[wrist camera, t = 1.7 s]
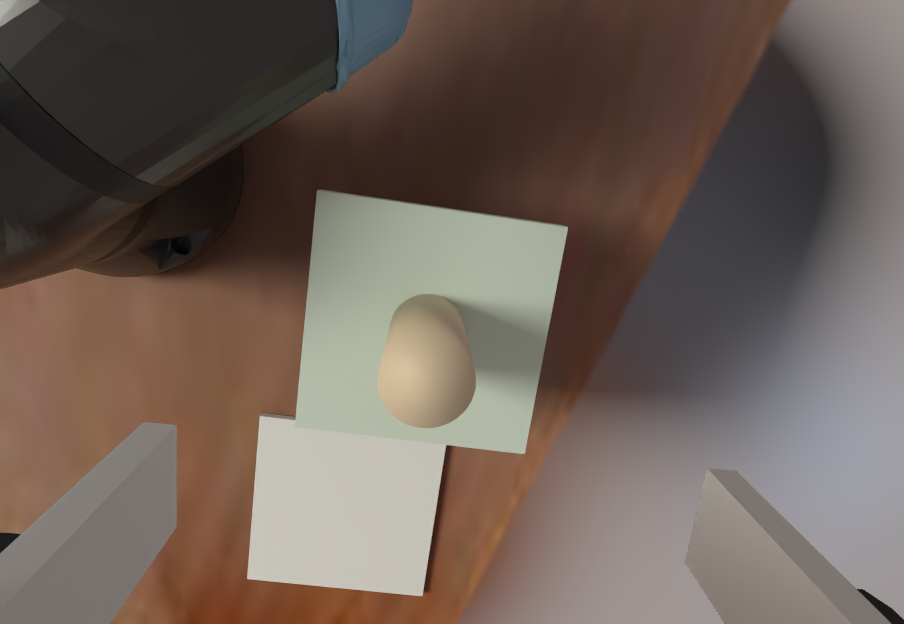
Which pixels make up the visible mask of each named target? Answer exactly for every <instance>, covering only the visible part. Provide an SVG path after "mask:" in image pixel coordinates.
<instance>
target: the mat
mask: <svg viewBox="0 0 904 624" xmlns="http://www.w3.org/2000/svg"><path fill="white" fill-rule="evenodd" d="M295 420H296V417H294V416H285V415H277V414H269V413H262V414H261V415H260V421H259V434H258V447H257V460H256V473H255V486H254V499H253V512H252V524H251V537H250V550H249V563H248V576H247V579H253V580H263V581H273V582H283V583H293V584H304V585H314V586H324V587H334V588H344V589H354V590H365V591H375V592H385V593H395V594H405V595H415V596H423V589H424V583H425V577H426V570H427V564H428V557H429V551H430V545H431V538H432V532H433V526H434V519H435V513H436V506H437V500H438V494H439V487H440V481H441V475H442V468H443V462H444V455H445V449H446V445H443V444H435V443H426V442H418V441H410V440H401V439H393V438H384V437H376V436H367V435H359V434H350V433H342V432H334V431H325V430H317V429H308V428H300V427H295Z"/></svg>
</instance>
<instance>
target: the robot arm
mask: <svg viewBox="0 0 904 624" xmlns="http://www.w3.org/2000/svg"><path fill="white" fill-rule="evenodd" d="M412 4H413V0H0V289H3V288H7V287H10V286H14V285H17V284H21V283H24V282H28V281H32V280H35V279H39V278H42V277H46V276H49V275H53V274H56V273H60V272H63V271H67V270H70V269H74V268H77V269H81V270H85V271H89V272H93V273H97V274H101V275H107V276H115V277H138V276H146V275H152V274H156V273H160V272H163V271H166V270H169V269H172V268H174V267H177V266H180V265H182V264H184V263H187V262H189V261H191V260H193V259H194V258H196V257H198V256H199V255H201V254H202V253H203V252H205V251H206V250H207V249H208V248H210V247H211V246H212V245H213V244H214V243H215V242H216V241H217V240H218V238H219V237H220V236H221V235H222V234H223V232H224V231H225V229H226V228H227V226H228V225H229V223H230V221H231V219H232V217H233V215H234V213H235V211H236V208H237V205H238V202H239V198H240V195H241V189H242V182H243V159H242V151H241V146H240V145H241V144H243V143H244V142H246V141H247V140H249V139H251V138H252V137H254V136H255V135H257V134H258V133H260V132H262V131H263V130H265V129H266V128H268V127H270V126H271V125H273V124H274V123H276V122H277V121H279V120H281V119H282V118H284V117H285V116H287V115H288V114H290V113H292V112H293V111H295V110H296V109H298V108H300V107H301V106H303V105H304V104H306V103H307V102H309V101H311V100H312V99H314V98H315V97H317V96H319V95H320V94H322V93H323V92H325V91H326V90H327V91H328V92H329V93H335V92H337V91H339V90H340V89H341V88H342V87H343V86H344V84H345V83H346V82H347V80H348V78H349V77H350V76H351V75H353V74H354V73H355V72H357V71H358V70H360V69H361V68H363V67H364V66H366V65H367V64H368V63H370V62H371V61H373V60H374V59H376V58H377V57H379V56H380V55H381V54H383V53H384V52H386V51H387V50H389V49H390V48H391V47H392V46H394V45H395V44H396V43H397V41H398V40H399V39H400V38H401V36H402V35H403V33H404V31H405V28H406V25H407V22H408V19H409V17H410V14H411V10H412ZM176 527H177V425H171V424H158V423H146V422H143V423H142V424H141V425H140V426H139V427H138V428H137V429H136V430H135V431H133V432H132V433H131V434H130V435H129V436H128V437H127V438H126V439H125V440H124V441H123V442H121V443H120V444H119V445H118V446H117V447H116V448H115V449H114V450H113V451H112V452H110V453H109V454H108V455H107V456H106V457H105V458H104V459H103V460H102V461H101V462H100V463H98V464H97V465H96V466H95V467H94V468H93V469H92V470H91V471H90V472H89V473H88V474H86V475H85V476H84V477H83V478H82V479H81V480H80V481H79V482H78V483H77V484H76V485H74V486H73V487H72V488H71V489H70V490H69V491H68V492H67V493H66V494H65V495H63V496H62V497H61V498H60V499H59V500H58V501H57V502H56V503H55V504H54V505H53V506H51V507H50V508H49V509H48V510H47V511H46V512H45V513H44V514H43V515H42V516H41V517H39V518H38V519H37V520H36V521H35V522H34V523H33V524H32V525H31V526H30V527H29V528H27V529H26V530H25V531H24V532H23V533H22V534H13V533H0V624H110V623H111V622H112V620H113V619H114V617H115V616H116V614H117V613H118V611H119V610H120V608H121V607H122V606H123V604H124V603H125V601H126V600H127V598H128V597H129V595H130V594H131V592H132V591H133V589H134V588H135V587H136V585H137V584H138V582H139V581H140V579H141V578H142V576H143V575H144V573H145V572H146V571H147V569H148V568H149V566H150V565H151V563H152V562H153V560H154V559H155V557H156V556H157V555H158V553H159V552H160V550H161V549H162V547H163V546H164V544H165V543H166V541H167V540H168V538H169V537H170V536H171V534H172V533H173V531H174V530H175V528H176ZM685 563H686V565H687V566H688V568H689V569H690V571H691V573H692V574H693V576H694V577H695V579H696V580H697V582H698V583H699V585H700V586H701V588H702V589H703V591H704V592H705V594H706V595H707V597H708V599H709V600H710V602H711V603H712V604H713V606H714V608H715V609H716V611H717V612H718V614H719V615H720V617H721V618H722V620H723V621H724V623H725V624H904V620H903V619H902V618H901V617H900V616H899V615H898V614H897V613H896V612H895V611H894V610H893V609H892V608H890V607H889V606H887V605H886V604H884V603H883V602H881V601H880V600H878V599H877V598H875V597H874V596H872V595H871V594H869V593H868V592H866V591H865V590H863V589H856V588H855V587H854V586H853V585H852V584H851V583H850V582H849V581H848V580H847V579H846V578H845V577H844V576H843V575H841V573H840V572H838V571H837V570H836V569H835V568H834V567H833V566H832V565H831V564H830V563H829V562H828V561H827V560H826V559H825V558H824V557H823V556H822V555H821V554H820V553H819V552H818V551H817V550H816V549H815V548H814V547H813V546H812V545H811V544H810V543H809V542H808V541H807V540H806V539H805V538H804V537H803V536H802V535H801V534H800V533H799V532H798V531H797V530H796V529H795V528H794V527H793V526H792V525H791V524H790V523H789V522H788V521H787V520H785V518H784V517H783V516H782V515H780V514H779V513H778V512H777V511H776V510H775V509H774V508H773V507H772V506H771V505H770V504H769V503H768V502H767V501H766V500H765V499H764V498H763V497H762V496H761V495H760V494H759V493H758V492H757V491H756V490H755V489H754V488H753V487H752V486H751V485H750V484H749V483H748V482H747V481H746V480H745V479H744V478H743V477H742V476H741V475H740V474H739V473H738V472H737V471H733V470H721V469H708V468H707V471H706V475H705V479H704V483H703V488H702V492H701V496H700V501H699V504H698V509H697V513H696V517H695V521H694V526H693V530H692V534H691V539H690V543H689V547H688V551H687V555H686V559H685Z"/></svg>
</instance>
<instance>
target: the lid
mask: <svg viewBox="0 0 904 624" xmlns="http://www.w3.org/2000/svg"><path fill="white" fill-rule="evenodd" d="M567 231H568V227H566V226H564V225H559V224H552V223H545V222H539V221H532V220H525V219H518V218H512V217H505V216H498V215H491V214H485V213H478V212H471V211H464V210H458V209H451V208H444V207H437V206H430V205H424V204H417V203H410V202H403V201H397V200H390V199H383V198H376V197H370V196H363V195H356V194H349V193H343V192H336V191H329V190H322V189H320V190H317V196H316V206H315V217H314V228H313V238H312V249H311V260H310V270H309V281H308V292H307V302H306V313H305V324H304V334H303V345H302V356H301V366H300V377H299V388H298V398H297V409H296V420H295V427H300V428H308V429H317V430H325V431H334V432H342V433H350V434H359V435H367V436H376V437H384V438H393V439H401V440H410V441H418V442H426V443H435V444H443V445H452V446H460V447H469V448H477V449H486V450H494V451H502V452H511V453H519V454H525V449H526V444H527V439H528V433H529V428H530V423H531V418H532V413H533V407H534V402H535V397H536V392H537V387H538V381H539V376H540V371H541V366H542V361H543V355H544V350H545V345H546V340H547V335H548V329H549V324H550V319H551V314H552V309H553V303H554V298H555V293H556V288H557V283H558V277H559V272H560V267H561V262H562V257H563V251H564V246H565V241H566V236H567Z"/></svg>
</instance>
